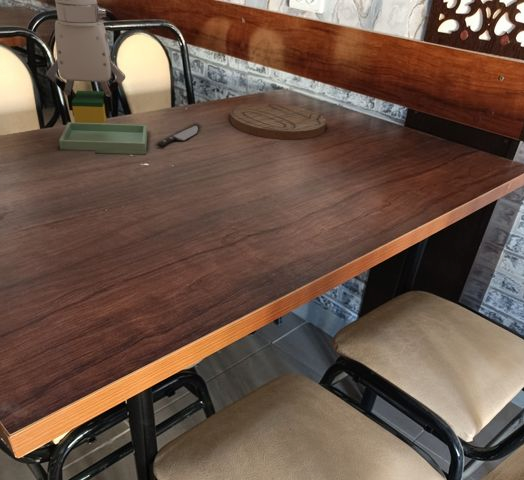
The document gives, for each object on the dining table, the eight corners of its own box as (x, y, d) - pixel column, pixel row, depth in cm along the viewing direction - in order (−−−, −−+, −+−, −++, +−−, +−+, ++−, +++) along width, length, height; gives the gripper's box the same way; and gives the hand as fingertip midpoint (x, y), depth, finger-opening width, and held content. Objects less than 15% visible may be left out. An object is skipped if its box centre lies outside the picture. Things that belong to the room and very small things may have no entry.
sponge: (74, 122, 104) (71, 101, 102) (80, 110, 111) (77, 90, 108) (104, 123, 105) (102, 102, 103) (108, 111, 112) (106, 91, 109)
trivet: (275, 106, 146) (276, 98, 145) (344, 129, 134) (345, 121, 133) (210, 118, 132) (210, 110, 131) (280, 146, 119) (281, 137, 118)
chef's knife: (207, 129, 125) (196, 126, 126) (207, 124, 124) (196, 121, 125) (168, 150, 111) (156, 147, 112) (168, 145, 110) (156, 142, 111)
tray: (60, 152, 106) (58, 140, 104) (69, 132, 115) (67, 122, 114) (145, 154, 108) (144, 143, 107) (147, 135, 118) (146, 124, 117)
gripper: (125, 14, 100) (134, 111, 112) (34, 9, 98) (52, 108, 109) (123, 20, 95) (132, 121, 106) (26, 14, 92) (46, 118, 104)
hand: (91, 113), depth 108 cm, fingers closed on sponge, 6 cm apart
